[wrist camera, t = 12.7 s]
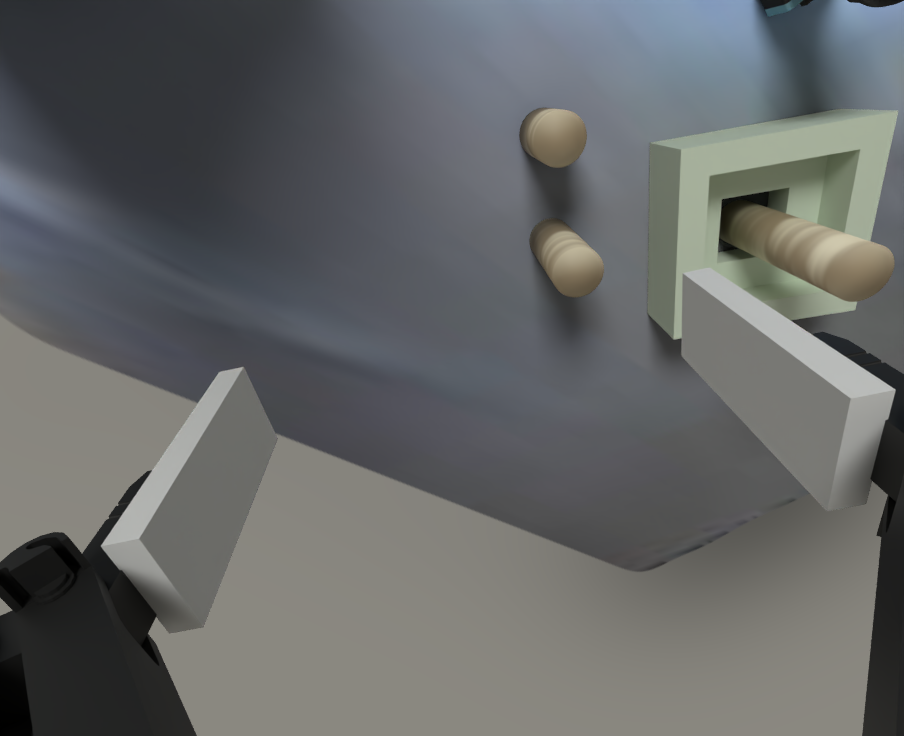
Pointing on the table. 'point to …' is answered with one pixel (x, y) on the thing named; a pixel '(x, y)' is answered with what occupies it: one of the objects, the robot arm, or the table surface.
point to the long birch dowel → (808, 250)
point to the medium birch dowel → (566, 258)
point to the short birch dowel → (553, 136)
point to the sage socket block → (790, 191)
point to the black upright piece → (777, 3)
